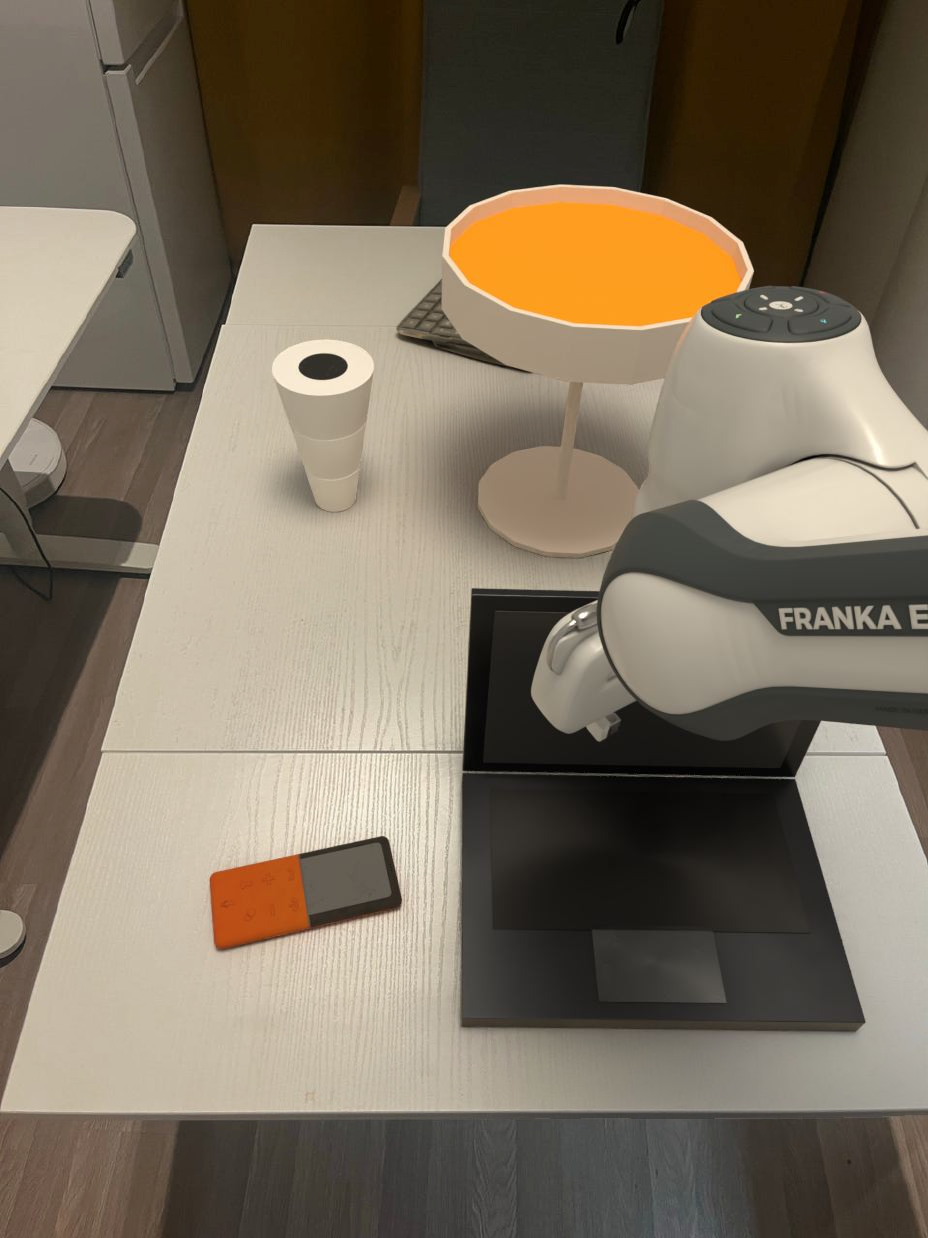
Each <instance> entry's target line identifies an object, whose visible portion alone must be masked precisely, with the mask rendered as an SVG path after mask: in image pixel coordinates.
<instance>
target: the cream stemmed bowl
mask: <svg viewBox="0 0 928 1238" xmlns="http://www.w3.org/2000/svg"><path fill="white" fill-rule="evenodd" d="M443 236H444V237H443V246H442V255H441V257H442V259H441V279H442V310H443V312H444V313H445V315H446V316H447V318H448V319H449V320H450V322H451V323H452V325H453V326H454V328H455V329H456V331H457V332H458V333H459V335H460V336H461V338H462V339H463V340H465V341H467V342H468V343H470V344H472V345H473V346H475V347H477V348H478V349H480V350H482V351H483V352H485V353H487V354H488V355H490V356H492V357H493V358H495V359H497V360H498V361H500V362H502V363H503V364H505V365H508V366H507V367H510V368H515V369H519V370H522V371H526V372H530V373H534V374H536V375H541V376H545V377H548V378H551V379H556V380H558V381H562V382H568V383H569V387H568V393H567V401H566V408H565V415H564V422H563V428H562V429H563V430H562V437H561V444H560V446H551V445H550V446H549V445H539V446H535V447H530V448H526V449H525V448H524V449H520V450H515V451H512V452H510V453H509V454H507V455H505V456H503V457H502V458H500V459H498V460H497V461H494V462H493V463H491V464H490V466H489V467H488V468H487V470H486V471H485V472H484V474H483V475H482V477H481V478H480V480H479V481H478V489H477V490H478V493H477V509H478V511H479V512H480V514H481V516H482V518H483V519H484V521H485V523H486V524H487V527H488V528H489V530H491V531H492V532H493V533H495V534H496V535H498V536H499V537H500V538H502V539H503V540H505V541H506V542H507V543H509V544H510V545H511V546H513V547H515V548H519V549H520V550H525V551H527V552H531V553H534V554H536V555H540V556H543V557H547V558H549V557H550V558H568V559H569V558H570V559H582V558H585V557H590V556H594V555H597V554H602V553H606V552H610V551H612V550H614V548H615V546H616V544H617V542H618V540H619V538H620V536H621V535H622V533H623V531H624V529H625V527H626V526H627V524H628V523H629V522H630V520H631V515H632V511H633V507H634V503H635V499H636V496H637V494H638V491H639V489H640V488H639V487H638V486H637V484H635V482H634V481H633V479H632V478H631V477H630V476H629V475H628V473H627V472H626V471H625V470H624V469H623V468H621V467H620V466H618V465H616V464H614V463H613V462H611V460H608V459H606V458H605V457H604V456H602V455H598V454H595V453H592V452H588V451H585V450H582V449H578V448H575V447H574V446H575V445H574V444H575V437H576V432H577V425H578V420H579V419H578V418H579V412H580V406H581V399H582V394H583V386H584V384H585V383H587V384H604V385H605V384H606V385H607V384H609V385H626V386H627V385H628V386H631V385H632V386H633V385H636V384H637V385H638V384H643V383H648V382H652V381H658V380H662V379H663V380H664V379H665V376H666V373H667V369H668V367H669V364H670V361H671V359H672V356H673V353H674V351H675V348H676V346H677V344H678V342H679V340H680V338H681V335H682V334H683V332H684V330H685V328H686V327H687V325H688V323H689V322H690V320H691V319H692V318H693V316H694V315H695V314H696V312H697V311H698V310H699V309H700V308H701V307H702V306H704V305H706V304H708V303H711V301H713V300H715V299H718V298H720V297H723V296H726V295H730V294H733V293H736V292H740V291H744V290H748V289H750V286H751V283H752V280H753V276H754V272H755V270H754V267H753V264H752V261H751V259H750V256H749V253H748V251H747V249H746V246H745V244H744V242H743V241H742V240H741V239H740V238H738V237H737V236H736V235H735V234H733V233H732V232H731V231H729V230H728V229H727V228H726V227H725V226H723V225H722V224H721V223H719V222H718V221H717V220H716V219H715V218H713V217H712V216H709V215H707V214H705V213H703V212H700V211H698V210H695V209H693V208H691V207H688V206H686V205H684V204H681V203H679V202H677V201H674V200H672V199H670V198H666V197H663V196H658V195H653V194H648V193H643V192H639V191H634V190H629V189H624V188H620V187H615V186H601V185H600V186H599V185H580V184H579V185H577V184H554V185H543V186H537V187H536V186H535V187H528V188H522V189H513V190H508V191H505V192H502V193H499V194H497V195H495V196H492V197H489V198H486V199H484V200H480V201H479V202H476V203H472V204H470V205H468V207H466V208H465V209H464V210H463V211H462V212H461V213H459V215H458V216H457V217H456V218H454V219H453V220H452V221H451V222H450V223H449V224H448V225H447V226H446V227H444V235H443Z"/></svg>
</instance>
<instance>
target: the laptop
mask: <svg viewBox="0 0 928 1238" xmlns="http://www.w3.org/2000/svg"><path fill="white" fill-rule="evenodd" d="M395 330H396V332H398V333H399V334H400V335H403V336H408V337H412V338H416V339H422V340H429V341H432V345H433V346H434V347H436V348H439V349H441V350H445V351H448V352H452V353H455V354H458V355H461V356H465V357H468V358H472V359H475V360H480V361H483V362H487V363H491V364H496V365H501V366H503V367H504V366H505V367H509V366H508V365H505V364H503V363H502V362H500V361H498V360H497V359H495V358H493V357H492V356H490V355H488V354H487V353H485V352H483V351H482V350H480V349H478V348H477V347H475V346H473V345H472V344H470V343H468V342H467V341H465V340H463V339H462V338H461V336H460V335H459V333H458V332H457V331H456V329H455V328H454V326H453V325H452V323H451V322H450V320H449V319H448V318H447V316H446V315H445V313H444V312H443V310H442V278H441V279H440V280H439V281H438V282H437V283H436V284H435V285H434V286H433V287H432V288H431V290H429V291H428V292H427V293H426V295H424V296H423V297H422V299H421V300H419V302H418V303H417V304H416V305H415V306H414V307H413V308H411V310H410V311H409V312H408V313H407V314H406V315H405V316H404V318H402V319H401V320H400V322H399V323H397V325H396V327H395Z"/></svg>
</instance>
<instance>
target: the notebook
mask: <svg viewBox="0 0 928 1238" xmlns="http://www.w3.org/2000/svg"><path fill="white" fill-rule="evenodd" d="M460 801H461V809H460V810H461V813H460V814H461V815H460V817H461V818H460V819H461V824H460V825H461V827H460V828H461V830H460V832H461V837H460V838H461V842H460V844H461V847H460V848H461V850H460V852H461V855H460V856H461V859H460V860H461V861H460V862H461V863H460V867H461V868H460V871H461V872H460V873H461V874H460V875H461V878H460V880H461V881H460V885H461V886H460V890H461V891H460V897H461V898H460V906H461V907H460V915H461V916H460V918H461V919H460V929H461V930H460V932H461V933H460V942H461V943H460V953H461V954H460V958H461V959H460V973H461V974H460V1027H462V1028H524V1029H525V1028H526V1029H527V1028H530V1029H531V1028H532V1029H535V1028H536V1029H537V1028H538V1029H539V1028H540V1029H542V1028H543V1029H614V1030H615V1029H617V1030H618V1029H620V1030H621V1029H623V1030H624V1029H626V1030H627V1029H629V1030H630V1029H631V1030H714V1031H716V1030H718V1031H721V1030H722V1031H798V1032H800V1031H802V1032H805V1031H808V1032H857V1031H858V1030H859V1029H860V1028H861V1027H862V1026H863V1025H865V1024H866V1018H865V1014H864V1012H863V1008H862V1005H861V1001H860V998H859V995H858V991H857V987H856V984H855V981H854V976H853V974H852V970H851V966H850V963H849V960H848V959H849V958H848V957H847V953H846V949H845V946H844V942H843V939H842V936H841V932H840V928H839V926H838V921H837V918H836V915H835V912H834V908H833V905H832V900H831V898H830V894H829V890H828V887H827V884H826V881H825V877H824V874H823V869H822V867H821V863H820V860H819V856H818V853H817V849H816V846H815V842H814V838H813V835H812V831H811V828H810V825H809V821H808V818H807V815H806V810H805V807H804V803H803V801H802V796H801V794H800V791H799V788H798V783H797V781H796V778H776V777H721V776H666V775H611V774H556V773H501V772H462V773H461V800H460Z"/></svg>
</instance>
